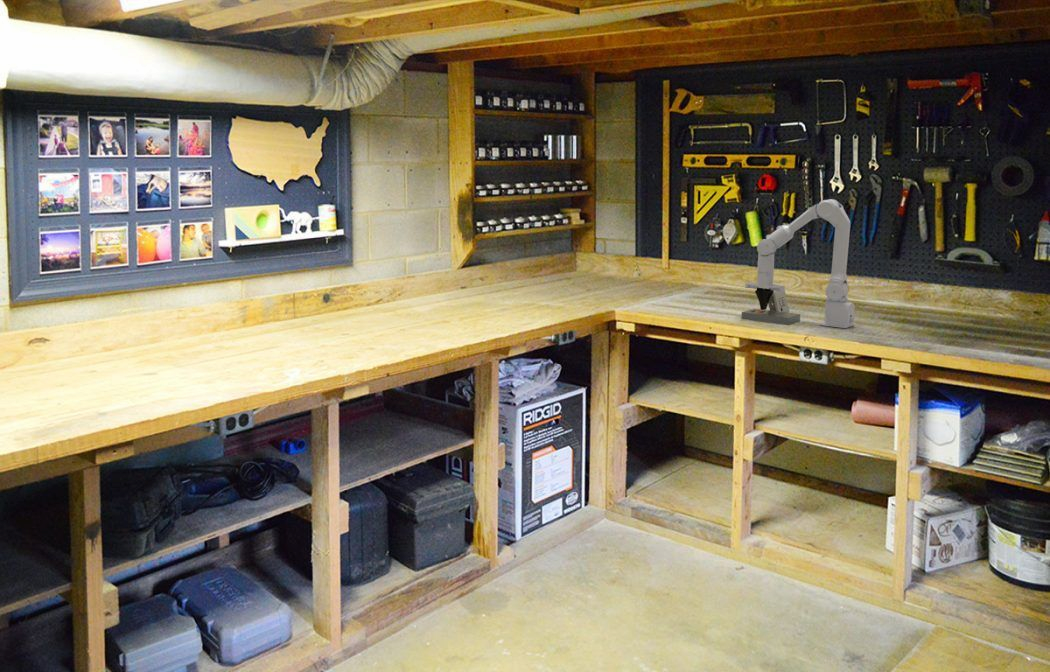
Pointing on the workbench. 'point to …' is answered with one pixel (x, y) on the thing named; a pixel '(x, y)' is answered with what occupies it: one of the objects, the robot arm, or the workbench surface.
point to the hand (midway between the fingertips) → (763, 309)
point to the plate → (771, 316)
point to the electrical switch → (778, 302)
